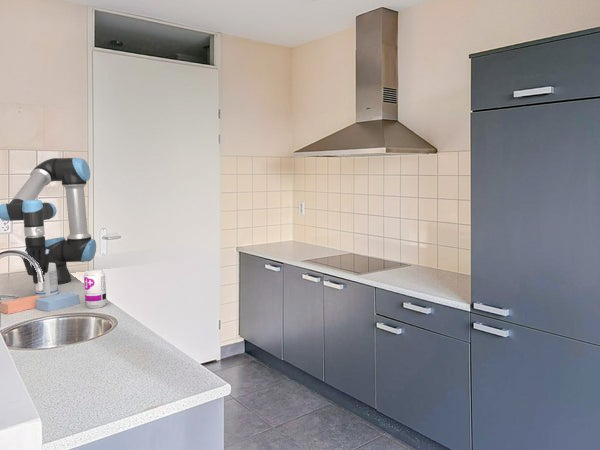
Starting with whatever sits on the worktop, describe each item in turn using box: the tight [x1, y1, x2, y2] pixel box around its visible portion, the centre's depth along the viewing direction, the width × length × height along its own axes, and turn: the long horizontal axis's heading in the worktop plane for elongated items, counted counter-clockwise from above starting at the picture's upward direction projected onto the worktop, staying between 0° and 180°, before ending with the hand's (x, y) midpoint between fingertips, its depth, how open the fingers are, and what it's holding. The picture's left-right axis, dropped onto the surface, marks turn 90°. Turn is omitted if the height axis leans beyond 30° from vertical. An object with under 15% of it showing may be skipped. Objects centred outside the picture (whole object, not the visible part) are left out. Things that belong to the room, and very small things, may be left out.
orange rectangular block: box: [0, 294, 43, 315], centre depth 202 cm, size 14×6×4 cm, turn 148°
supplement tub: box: [33, 263, 59, 298], centre depth 225 cm, size 10×10×15 cm
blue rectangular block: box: [35, 291, 81, 313], centre depth 206 cm, size 14×10×4 cm
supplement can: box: [83, 269, 108, 309], centre depth 204 cm, size 8×8×15 cm
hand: (39, 290), depth 208 cm, fingers closed
